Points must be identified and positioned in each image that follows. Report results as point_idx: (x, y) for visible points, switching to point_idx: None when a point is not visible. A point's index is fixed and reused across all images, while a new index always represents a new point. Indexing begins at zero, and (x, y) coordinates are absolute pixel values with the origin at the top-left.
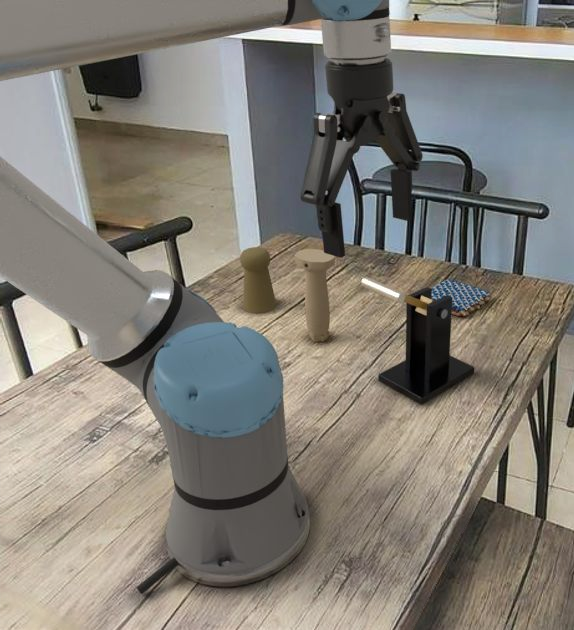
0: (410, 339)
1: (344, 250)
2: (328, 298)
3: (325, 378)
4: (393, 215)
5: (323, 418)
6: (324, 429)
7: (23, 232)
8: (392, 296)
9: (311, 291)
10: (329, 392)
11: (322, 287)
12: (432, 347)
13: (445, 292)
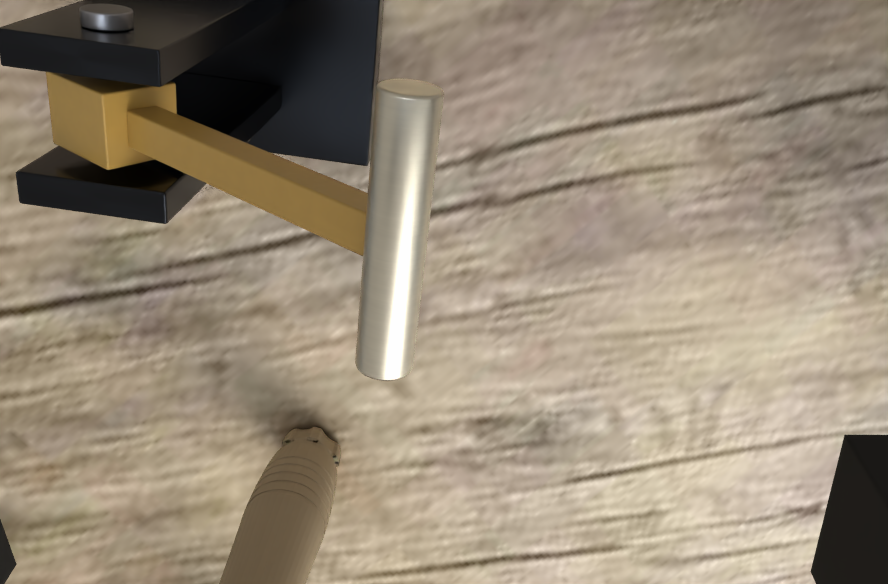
0: (239, 125)
1: (866, 465)
2: (247, 522)
3: (470, 296)
4: (4, 573)
5: (649, 162)
6: (695, 120)
7: None
8: (437, 138)
9: (298, 576)
10: (523, 238)
11: (261, 563)
12: (226, 6)
13: None
